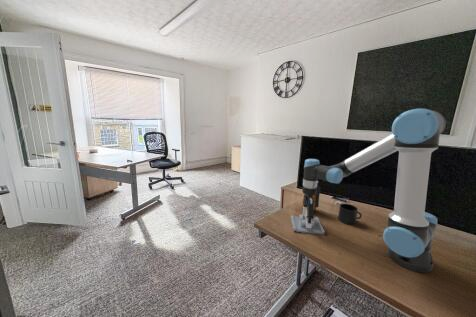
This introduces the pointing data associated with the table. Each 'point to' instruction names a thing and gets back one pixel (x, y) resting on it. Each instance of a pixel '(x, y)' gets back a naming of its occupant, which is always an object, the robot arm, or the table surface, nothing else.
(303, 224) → the square frame
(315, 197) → the canister
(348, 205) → the mug
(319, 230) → the keeper plate
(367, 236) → the table surface
